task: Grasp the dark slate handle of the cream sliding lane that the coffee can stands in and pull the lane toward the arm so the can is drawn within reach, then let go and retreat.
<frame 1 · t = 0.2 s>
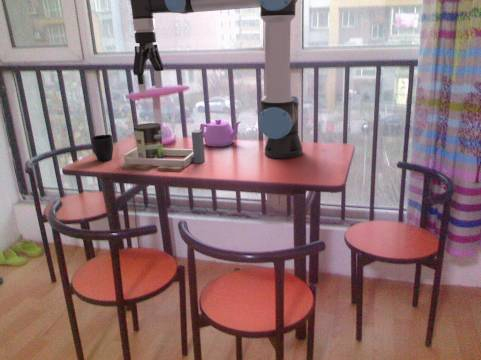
hand: (151, 90, 160), 27 cm above the table, fingers open, 13 cm apart
teapot: (221, 144, 188), on the table
coffee can: (151, 160, 169), resting in lane
broken strip a: (170, 169, 156), on the table
mug: (107, 158, 174), on the table
broken strip b: (137, 168, 159), on the table
lane: (166, 145, 165), point 6 cm above the table, slide at 0.0 cm
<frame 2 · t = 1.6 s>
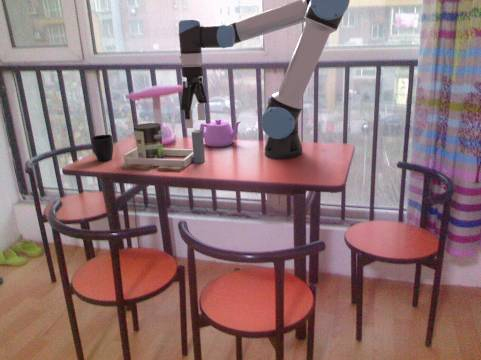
hand: (195, 123, 159), 15 cm above the table, fingers open, 13 cm apart
nothing on the table moved.
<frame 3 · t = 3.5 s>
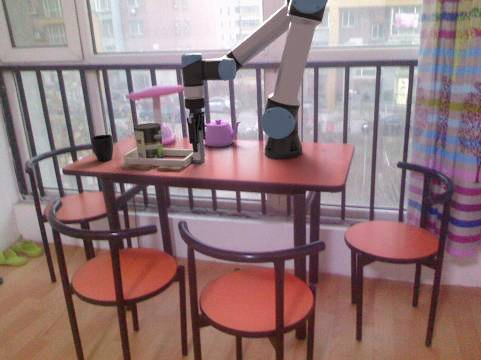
hand: (199, 157, 163), 2 cm above the table, fingers closed on lane, 4 cm apart
lane: (166, 145, 165), point 6 cm above the table, slide at 0.0 cm, touching gripper
everything else where it was.
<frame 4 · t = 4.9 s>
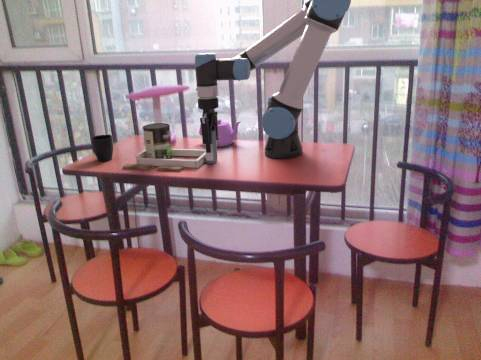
hand: (211, 158, 162), 2 cm above the table, fingers closed on lane, 4 cm apart
coffee can: (160, 160, 168), resting in lane
lane: (178, 145, 163), point 6 cm above the table, slide at 5.2 cm, touching coffee can, gripper
everything else where it was.
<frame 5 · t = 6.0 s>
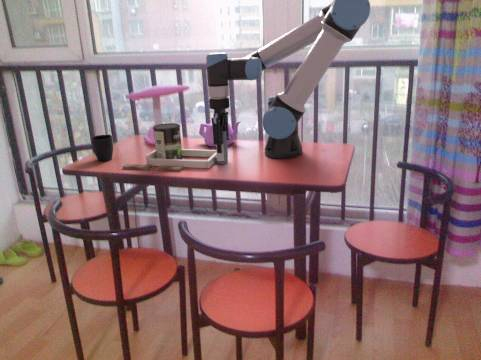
hand: (222, 158, 161), 2 cm above the table, fingers closed on lane, 4 cm apart
coffee can: (170, 161, 167), resting in lane
lane: (188, 146, 162), point 6 cm above the table, slide at 9.4 cm, touching coffee can, gripper
everything else where it was.
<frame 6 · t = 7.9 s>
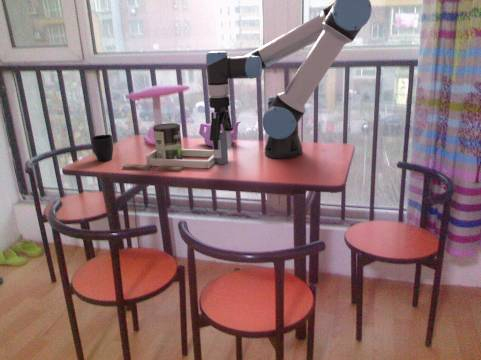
hand: (222, 152, 160), 4 cm above the table, fingers open, 13 cm apart
coffee can: (170, 161, 167), resting in lane
lane: (188, 146, 162), point 6 cm above the table, slide at 9.5 cm
everything else where it was.
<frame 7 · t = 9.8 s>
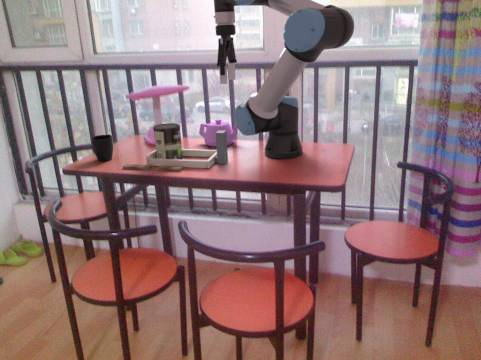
hand: (228, 81, 166), 29 cm above the table, fingers open, 13 cm apart
nothing on the table moved.
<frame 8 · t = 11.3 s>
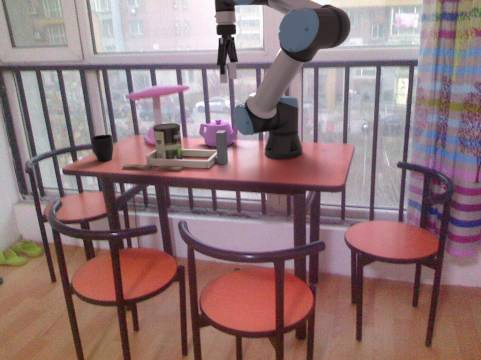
hand: (228, 81, 167), 29 cm above the table, fingers open, 13 cm apart
nothing on the table moved.
at the end: lane slide at 9.5 cm; coffee can inside the target area (1.9 cm from its centre), resting in lane; coffee can tilted 0° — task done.
